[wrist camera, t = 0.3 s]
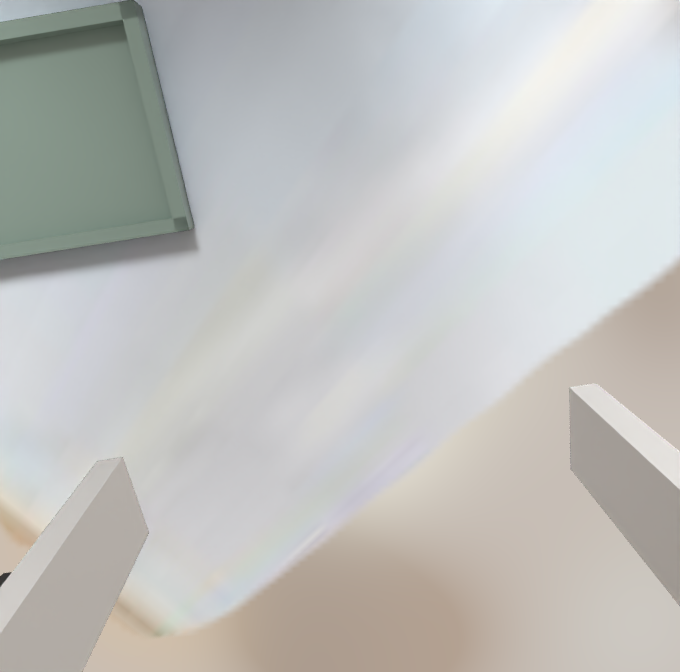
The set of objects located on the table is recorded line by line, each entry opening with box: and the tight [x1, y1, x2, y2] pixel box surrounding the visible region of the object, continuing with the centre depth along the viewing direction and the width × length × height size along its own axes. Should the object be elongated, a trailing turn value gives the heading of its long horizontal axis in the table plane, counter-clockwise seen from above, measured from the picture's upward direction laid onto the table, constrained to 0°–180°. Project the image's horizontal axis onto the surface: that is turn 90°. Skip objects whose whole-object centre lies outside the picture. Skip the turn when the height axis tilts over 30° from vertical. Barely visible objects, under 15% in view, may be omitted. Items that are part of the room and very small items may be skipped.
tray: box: [0, 0, 194, 260], centre depth 37 cm, size 20×15×2 cm
